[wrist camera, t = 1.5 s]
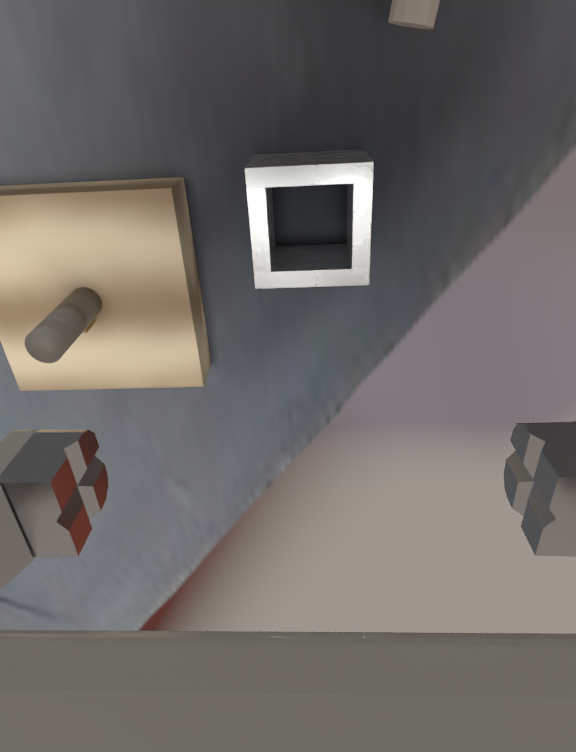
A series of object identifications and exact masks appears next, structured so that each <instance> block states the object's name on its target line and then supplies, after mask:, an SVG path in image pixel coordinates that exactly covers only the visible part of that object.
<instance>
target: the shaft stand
mask: <svg viewBox="0 0 576 752" xmlns="http://www.w3.org/2000/svg"><path fill="white" fill-rule="evenodd" d="M0 341H1V343H2V346H3V348H4V351H5V353H6V356H7V358H8V361H9V363H10V366H11V368H12V371H13V373H14V376H15V378H16V381H17V383H18V386H19V388H20V391H30V390H73V389H117V388H160V387H203V386H204V384H205V381H206V378H207V375H208V372H209V369H210V366H211V356H210V349H209V343H208V336H207V329H206V323H205V316H204V309H203V303H202V296H201V289H200V283H199V276H198V269H197V263H196V256H195V249H194V243H193V236H192V229H191V223H190V216H189V209H188V203H187V196H186V189H185V183H184V177H176V178H154V179H133V180H111V181H89V182H68V183H46V184H24V185H2V186H0Z"/></svg>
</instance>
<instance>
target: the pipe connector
mask: <svg viewBox="0 0 576 752" xmlns="http://www.w3.org/2000/svg"><path fill="white" fill-rule="evenodd" d="M439 2H440V0H392V4H391V9H390V15H389V20H388V22H389V23H391V24H395V25H399V26H405V27H411V28H419V29H433V28H434V23H435V19H436V15H437V11H438V7H439Z"/></svg>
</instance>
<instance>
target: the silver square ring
mask: <svg viewBox="0 0 576 752" xmlns="http://www.w3.org/2000/svg"><path fill="white" fill-rule="evenodd" d="M373 167H374V162H373V160H372V159H371V158H370V156H369V155H368V153H367V152H366V151H365V149H353V150H332V151H311V152H291V153H270V154H253V156H252V157H251V159H250V160H249V162H248V164H247V165H246V167H245V178H246V189H247V200H248V212H249V223H250V234H251V246H252V257H253V268H254V279H255V289H263V288H293V287H322V286H352V285H369V269H370V243H371V218H372V192H373ZM331 184H347V229H346V244H321V245H294V246H276V244H275V228H274V212H273V196H272V187H286V186H309V185H331Z"/></svg>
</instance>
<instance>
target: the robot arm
mask: <svg viewBox="0 0 576 752" xmlns="http://www.w3.org/2000/svg"><path fill="white" fill-rule="evenodd" d="M511 442H512V444H513V446H514V448H515V449H516V451H515V452H514V453H513V454H512V455H511V456H510V457H508V458H507V459H506V465H505V470H504V485H505V491H506V494H507V498H508V500H509V502H510V505H511V507H512V508H513V509H514V510H516V511H517V512H518V513H520V514H521V515H523V516H524V517H523V520H522V525H521V527H522V529H523V532H524V534H525V536H526V537H527V540H528V541H529V544H530V546H531V548H532V550H533V552H534V554H535V555H540V556H541V555H543V556H576V421H572V422H547V423H517V425H516V426H515V428H514V429H513V433H512V437H511ZM98 448H99V444H98V441H97V438H96V435H95V433H94V432H92V431H90V430H65V429H41V430H38V429H32V430H15V431H12V432H9V434H8V435H7V436H6V437H5V438H4V439H3V440H2V442H1V443H0V589H1V588H2V587H3V586H5V585H6V584H7V583H8V582H9V581H10V580H12V579H13V578H14V577H15V576H16V575H17V574H18V573H20V572H21V571H22V570H23V569H24V568H25V567H27V566H28V565H29V564H30V563H31V562H32V561H33V560H34V558H42V557H74V556H79V554H80V552H81V550H82V548H83V546H84V544H85V542H86V540H87V538H88V536H89V534H90V532H91V530H92V527H91V524H90V521H89V519H91V518H92V517H93V516H95V515H96V514H97V513H99V512H100V511H101V509H102V507H103V505H104V503H105V501H106V497H107V491H108V474H107V470H106V467H105V464H104V463H103V462H101V461H100V460H99V459H98V458H97V457H96V456H95V454H96V452H97V450H98ZM0 752H576V634H542V633H393V632H388V633H387V632H231V631H230V632H227V631H226V632H224V631H222V632H221V631H65V630H0Z"/></svg>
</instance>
